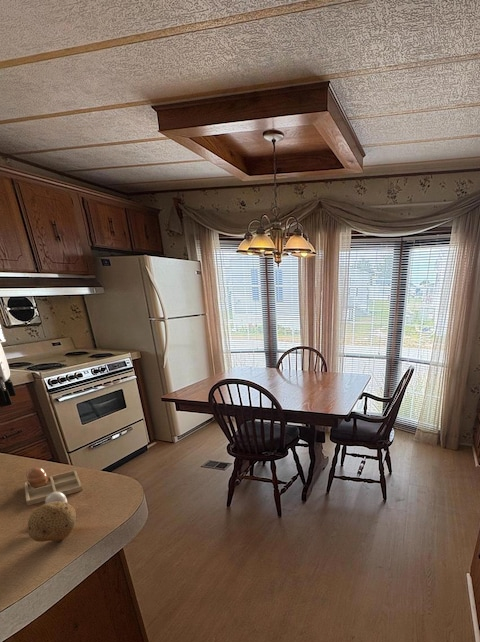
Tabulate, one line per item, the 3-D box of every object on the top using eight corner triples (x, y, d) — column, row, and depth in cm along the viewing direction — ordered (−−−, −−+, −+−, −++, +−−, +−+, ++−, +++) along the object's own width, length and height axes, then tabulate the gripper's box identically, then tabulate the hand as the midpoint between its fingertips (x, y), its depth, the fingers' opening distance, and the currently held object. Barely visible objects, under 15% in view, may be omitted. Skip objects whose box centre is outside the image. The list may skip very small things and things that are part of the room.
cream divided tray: (28, 506, 93) (26, 501, 92) (25, 487, 101) (24, 482, 101) (83, 491, 100) (81, 486, 100) (76, 474, 109) (75, 469, 109)
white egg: (53, 520, 88) (46, 499, 85) (47, 514, 90) (40, 493, 88) (72, 513, 91) (66, 492, 88) (67, 506, 93) (60, 486, 91)
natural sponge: (49, 558, 76) (36, 521, 72) (25, 546, 79) (11, 510, 75) (89, 534, 83) (79, 499, 80) (66, 524, 87) (55, 490, 83)
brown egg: (27, 491, 99) (20, 472, 96) (35, 484, 103) (29, 465, 100) (45, 490, 100) (38, 471, 97) (52, 482, 104) (46, 464, 101)
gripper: (-29, 333, 91) (-7, 394, 98) (-45, 341, 78) (-18, 412, 85) (8, 332, 95) (27, 391, 102) (-1, 340, 82) (21, 407, 89)
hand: (6, 400), depth 93 cm, fingers open, 9 cm apart
